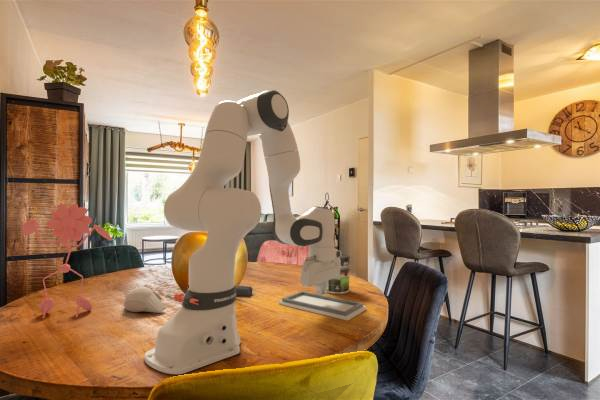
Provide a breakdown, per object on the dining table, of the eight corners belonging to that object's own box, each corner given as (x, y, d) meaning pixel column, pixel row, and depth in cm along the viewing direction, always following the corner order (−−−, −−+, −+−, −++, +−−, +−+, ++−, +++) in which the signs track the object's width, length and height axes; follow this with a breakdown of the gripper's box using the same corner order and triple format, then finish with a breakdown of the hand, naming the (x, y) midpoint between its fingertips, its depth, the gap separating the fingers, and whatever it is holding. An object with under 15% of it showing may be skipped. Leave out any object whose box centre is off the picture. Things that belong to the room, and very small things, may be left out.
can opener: (206, 290, 133) (200, 293, 128) (208, 274, 133) (202, 277, 128) (252, 297, 129) (248, 300, 124) (254, 280, 129) (249, 284, 124)
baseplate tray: (347, 320, 101) (347, 314, 101) (278, 304, 116) (278, 298, 116) (366, 309, 111) (366, 303, 111) (300, 295, 127) (300, 290, 127)
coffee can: (354, 291, 134) (354, 255, 134) (337, 295, 127) (337, 258, 127) (335, 286, 142) (335, 252, 142) (318, 290, 135) (318, 255, 135)
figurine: (105, 318, 102) (106, 203, 102) (9, 323, 97) (9, 203, 97) (122, 303, 117) (123, 203, 117) (39, 307, 112) (40, 203, 112)
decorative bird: (139, 304, 116) (141, 282, 116) (169, 313, 107) (171, 289, 108) (114, 309, 108) (116, 285, 109) (144, 319, 100) (146, 293, 100)
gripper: (312, 259, 104) (312, 303, 104) (343, 251, 120) (343, 289, 120) (296, 257, 107) (295, 300, 107) (328, 249, 124) (328, 286, 124)
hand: (321, 294), depth 114 cm, fingers closed
